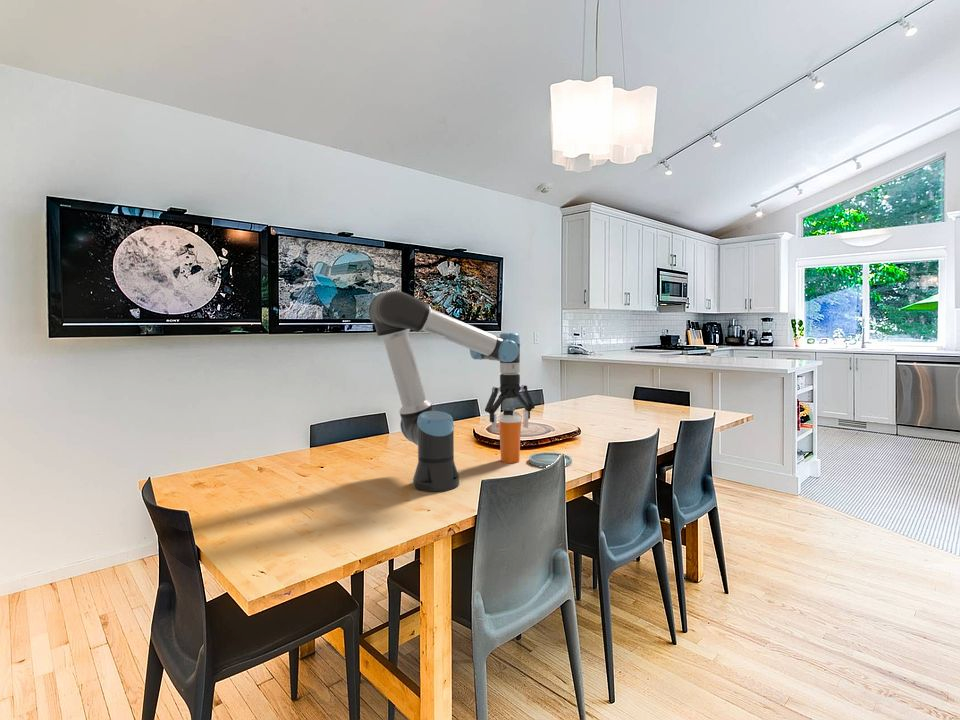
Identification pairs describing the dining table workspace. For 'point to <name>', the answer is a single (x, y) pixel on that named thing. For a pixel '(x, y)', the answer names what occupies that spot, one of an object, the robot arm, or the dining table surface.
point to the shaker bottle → (510, 435)
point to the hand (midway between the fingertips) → (510, 429)
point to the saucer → (547, 459)
